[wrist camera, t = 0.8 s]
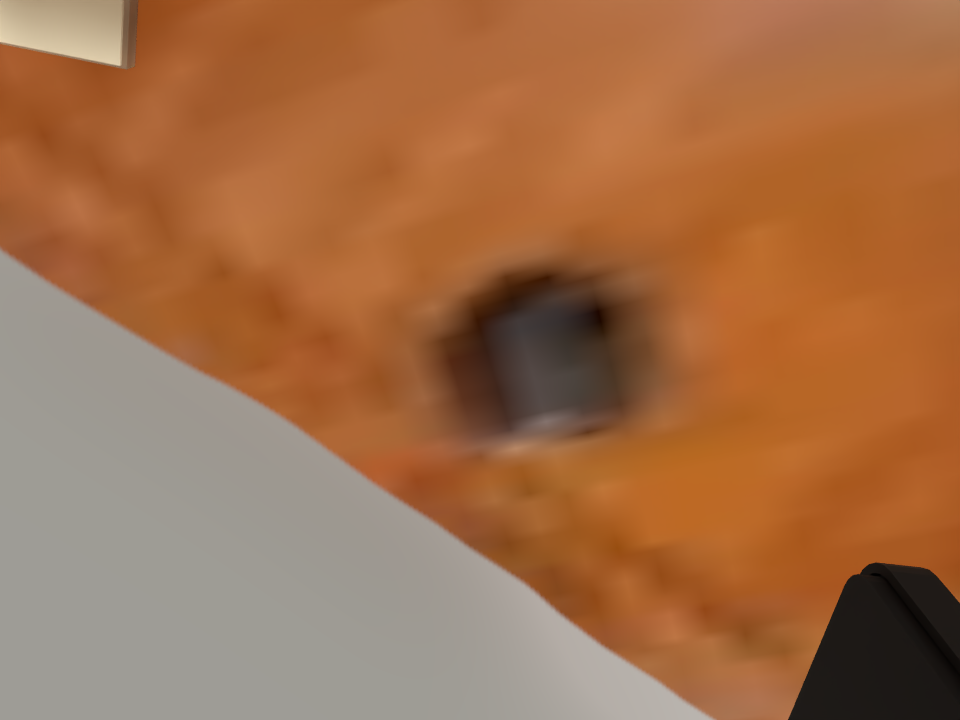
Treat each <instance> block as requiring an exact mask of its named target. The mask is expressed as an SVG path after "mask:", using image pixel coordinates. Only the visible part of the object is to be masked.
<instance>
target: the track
mask: <svg viewBox="0 0 960 720" xmlns="http://www.w3.org/2000/svg"><path fill="white" fill-rule="evenodd" d="M137 12H138V0H0V44H3V45H8V46H13V47H18V48H23V49H28V50H33V51H38V52H43V53H48V54H53V55H58V56H63V57H68V58H73V59H78V60H83V61H88V62H93V63H98V64H103V65H108V66H113V67H118V68H123V69H129V68H132V67H135V53H136V32H137Z"/></svg>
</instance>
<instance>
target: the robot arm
mask: <svg viewBox="0 0 960 720" xmlns="http://www.w3.org/2000/svg"><path fill="white" fill-rule="evenodd" d="M788 720H960V603H959V602H958V601H957V599H956V598H955V597H954V596H953V595H952V594H951V592H950V591H949V590H948V589H947V588H946V587H945V585H944V584H943V583H942V582H941V581H940V580H939V578H938V577H937V576H936V575H935V574H934V573H932V572H931V571H930V570H928V569H925V568H921V567H912V566H903V565H894V564H885V563H872V564H869V565H868V566H866V567H865V568H864V569H863V570H862V572H861V573H860V574H857V575H853V576H852V577H850V578H849V579H848V581H847V582H846V584H845V586H844V588H843V591H842V593H841V595H840V598H839V600H838V603H837V605H836V607H835V610H834V612H833V614H832V617H831V619H830V622H829V624H828V626H827V629H826V631H825V633H824V636H823V638H822V641H821V643H820V645H819V648H818V650H817V653H816V655H815V657H814V660H813V662H812V664H811V667H810V669H809V672H808V674H807V676H806V679H805V681H804V683H803V686H802V688H801V691H800V693H799V695H798V698H797V700H796V702H795V705H794V707H793V710H792V712H791V714H790V717H789V719H788Z"/></svg>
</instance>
